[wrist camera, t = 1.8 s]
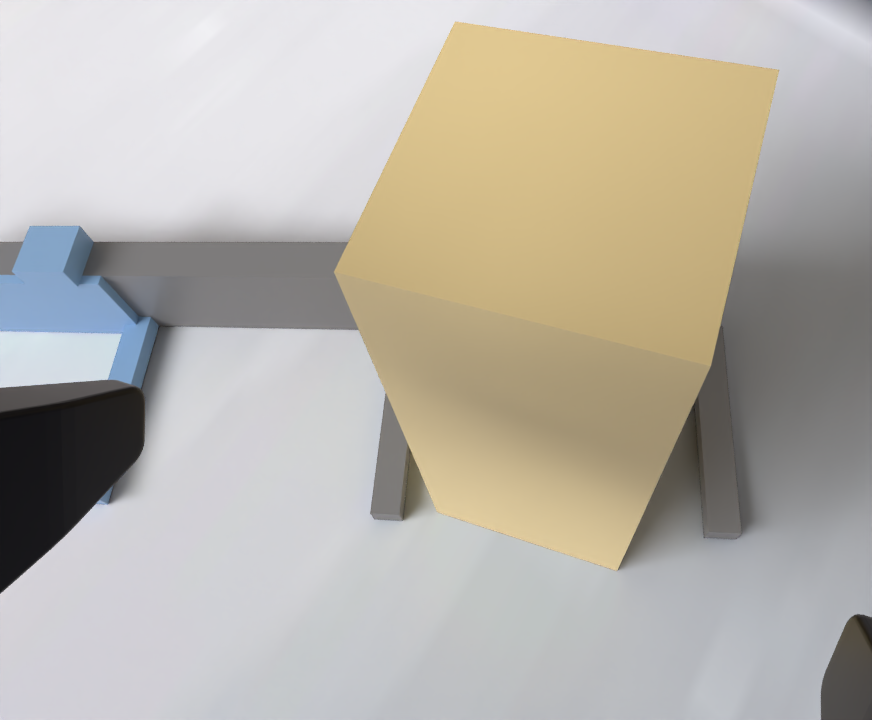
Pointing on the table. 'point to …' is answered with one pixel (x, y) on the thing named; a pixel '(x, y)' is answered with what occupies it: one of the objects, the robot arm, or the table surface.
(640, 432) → the wooden block
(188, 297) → the gray bench frame
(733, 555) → the table surface
